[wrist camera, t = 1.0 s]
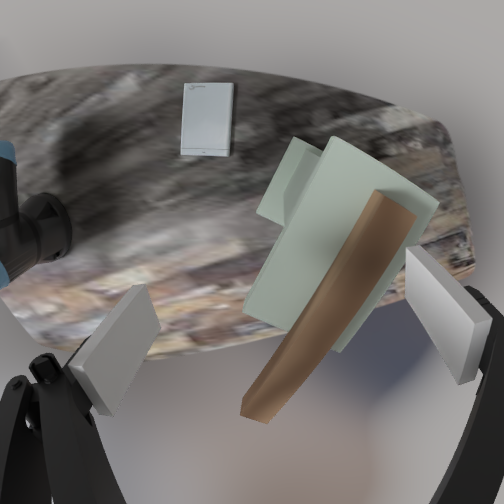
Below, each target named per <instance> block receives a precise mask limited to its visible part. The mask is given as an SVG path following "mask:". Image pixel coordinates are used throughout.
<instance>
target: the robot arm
mask: <svg viewBox="0 0 504 504" xmlns="http://www.w3.org/2000/svg"><path fill="white" fill-rule="evenodd" d="M16 166H17V163H16V159H15V148H14V146H13V144H12V143H11V142H9V141H3V140H0V289H2V288H4V287H7V286H8V285H9V283H11V282H12V281H13V280H15V279H16V278H18V277H19V276H20V275H22V274H23V273H24V272H26V271H27V270H29V269H30V268H31V267H33V266H34V265H36V264H42V263H49V262H53V261H56V260H58V259H59V258H61V257H62V256H63V255H65V253H66V252H67V251H68V249H69V247H70V243H71V236H72V232H71V224H70V220H69V217H68V215H67V213H66V211H65V209H64V207H63V206H62V204H61V203H60V202H59V201H58V200H57V199H56V198H54V197H53V196H51V195H49V194H44V193H42V194H38V195H35V196H32V197H30V198H29V199H27V200H26V201H25V202H24V203H23V204H22V205H21V206H20V208H18V195H17V175H16ZM405 298H406V300H407V301H408V303H409V304H410V306H411V307H412V309H413V310H414V312H415V314H416V315H417V317H418V318H419V320H420V321H421V323H422V325H423V326H424V328H425V329H426V331H427V333H428V334H429V336H430V338H431V339H432V341H433V342H434V344H435V346H436V348H437V349H438V351H439V353H440V354H441V356H442V358H443V359H444V361H445V363H446V365H447V367H448V368H449V370H450V372H451V374H452V375H453V377H454V379H455V381H456V383H457V384H458V385H461V384H464V383H467V382H470V381H473V380H475V377H476V374H477V371H478V368H479V369H480V370H481V372H482V373H483V377H482V380H481V382H480V385H479V388H478V390H477V393H476V395H477V396H476V399H475V402H474V405H473V408H472V411H471V413H470V416H469V419H468V422H467V424H466V427H465V430H464V432H463V435H462V437H461V440H460V442H459V445H458V447H457V449H456V451H455V454H454V456H453V458H452V460H451V462H450V464H449V467H448V469H447V471H446V473H445V475H444V477H443V479H442V481H441V483H440V484H439V486H438V488H437V490H436V492H435V494H434V496H433V498H432V499H431V501H430V503H429V504H493V503H494V501H495V499H496V496H497V493H498V491H499V488H500V485H501V483H502V480H503V476H504V316H503V315H502V314H501V313H500V312H499V311H498V310H497V309H496V308H495V307H494V306H493V305H492V304H491V303H490V302H489V301H488V300H487V298H485V297H484V296H483V294H482V293H480V291H478V290H477V289H474V288H472V287H471V286H465V287H463V286H462V285H461V284H459V282H458V281H457V280H456V279H455V278H454V277H453V276H452V275H451V274H450V273H449V272H448V271H447V270H446V269H445V268H443V267H442V266H441V265H440V264H439V263H438V262H437V261H436V260H435V259H434V258H433V257H432V256H431V255H430V254H429V253H428V252H427V251H426V250H424V249H423V248H422V247H421V246H420V245H417V246H410V247H406V275H405ZM160 329H161V326H160V323H159V320H158V318H157V315H156V312H155V310H154V307H153V304H152V301H151V299H150V296H149V293H148V290H147V287H146V284H140V285H133V286H132V287H131V288H130V289H129V291H128V292H127V293H126V294H125V295H124V296H123V298H122V299H121V300H120V301H119V302H118V303H117V305H116V306H115V307H114V308H113V309H112V311H111V312H110V313H109V314H108V315H107V317H106V318H105V319H104V320H103V321H102V323H101V324H100V325H99V326H98V328H97V329H96V330H95V331H94V332H93V334H92V335H90V336H89V337H88V338H86V339H85V340H84V341H83V343H82V344H81V345H80V346H79V347H80V348H78V349H77V350H76V351H75V353H74V354H73V355H72V357H71V358H70V359H69V360H68V362H67V363H66V364H65V366H64V367H63V368H61V366H60V365H59V363H58V361H57V359H56V358H55V356H54V354H52V353H45V354H42V355H40V356H38V357H36V358H35V359H34V360H33V361H32V362H31V363H30V365H29V369H30V371H31V372H32V374H33V376H34V377H35V379H36V380H37V382H38V383H34V384H31V383H30V382H29V380H28V379H27V377H26V376H24V375H19V376H16V377H14V378H12V379H11V380H10V381H9V382H8V384H7V385H6V388H5V390H4V392H3V395H2V398H1V401H0V504H52V502H51V501H52V497H53V502H54V504H126V502H125V500H124V497H123V495H122V493H121V490H120V488H119V486H118V484H117V481H116V479H115V476H114V474H113V472H112V469H111V466H110V464H109V462H108V459H107V456H106V453H105V451H104V448H103V445H102V442H101V439H100V436H99V433H98V430H97V428H96V424H95V421H94V418H93V416H92V414H91V413H90V411H89V410H90V409H91V407H92V405H93V406H94V407H95V409H96V410H97V412H98V413H99V415H106V416H114V415H115V413H116V411H117V409H118V407H119V405H120V403H121V401H122V400H123V397H124V396H125V394H126V392H127V390H128V388H129V386H130V384H131V382H132V381H133V379H134V377H135V375H136V373H137V371H138V369H139V367H140V366H141V364H142V362H143V360H144V358H145V356H146V355H147V353H148V351H149V349H150V347H151V345H152V344H153V342H154V340H155V338H156V336H157V335H158V333H159V331H160ZM26 420H27V421H28V422H29V423H30V427H29V428H28V427H27V425H26Z"/></svg>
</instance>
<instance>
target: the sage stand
mask: <svg viewBox="0 0 504 504" xmlns="http://www.w3.org/2000/svg"><path fill="white" fill-rule="evenodd" d="M374 189H375V190H377V191H378V192H380V193H382V194H383V195H385V196H386V197H388V198H390V199H391V200H393V201H395V202H396V203H398V204H399V205H401V206H403V207H404V208H406V209H407V210H409V211H410V212H412V213H413V214H415V215H416V216H417V219H416V220H415V222H414V224H413V226H412V227H411V229H410V231H409V232H408V234H407V236H406V238H405V239H404V241H403V243H402V244H401V246H400V248H399V249H398V251H397V253H396V254H395V256H394V257H393V259H392V261H391V262H390V264H389V265H388V267H387V269H386V270H385V272H384V273H383V275H382V276H381V278H380V279H379V281H378V282H377V284H376V285H375V287H374V288H373V290H372V291H371V293H370V294H369V296H368V297H367V299H366V300H365V302H364V303H363V305H362V306H361V308H360V309H359V310H358V312H357V313H356V315H355V316H354V317H353V319H352V320H351V322H350V323H349V324H348V326H347V327H346V328H345V330H344V331H343V333H342V334H341V335H340V337H339V338H338V339H337V341H336V342H335V343H334V345H333V346H332V347H331V349H332V350H334V351H337V352H340V353H341V351H342V350H343V349H344V348H345V346H346V345H347V344H348V342H349V341H350V340H351V339H352V337H353V336H354V335H355V333H356V332H357V331H358V329H359V328H360V327H361V325H362V324H363V323H364V321H365V320H366V319H367V317H368V316H369V314H370V313H371V312H372V310H373V309H374V308H375V306H376V305H377V303H378V302H379V300H380V299H381V298H382V296H383V295H384V293H385V292H386V290H387V289H388V287H389V286H390V284H391V283H392V281H393V280H394V278H395V277H396V275H397V274H398V272H399V271H400V269H401V268H402V266H403V265H404V263H405V261H406V247H410V246H415V245H416V244H417V242H418V240H419V239H420V237H421V235H422V234H423V232H424V230H425V229H426V227H427V225H428V223H429V222H430V220H431V218H432V216H433V214H434V213H435V211H436V209H437V207H438V205H439V204H440V202H439V201H437V200H436V199H435V198H433V197H432V196H430V195H429V194H428V193H426V192H425V191H423V190H422V189H420V188H419V187H418V186H416V185H415V184H413V183H412V182H410V181H409V180H407V179H406V178H404V177H403V176H401V175H400V174H398V173H397V172H395V171H394V170H392V169H390V168H389V167H387V166H386V165H384V164H382V163H381V162H379V161H378V160H376V159H374V158H373V157H371V156H369V155H368V154H366V153H364V152H363V151H361V150H359V149H358V148H356V147H354V146H352V145H351V144H349V143H347V142H345V141H344V140H342V139H340V138H338V137H336V136H331V138H330V140H329V142H328V144H327V146H326V148H325V149H324V151H322V150H320V149H318V148H316V147H314V146H312V145H310V144H308V143H306V142H304V141H302V140H300V139H298V138H296V137H293V139H292V141H291V142H290V144H289V146H288V148H287V150H286V152H285V154H284V156H283V158H282V160H281V162H280V164H279V166H278V168H277V170H276V172H275V174H274V176H273V178H272V180H271V182H270V184H269V186H268V188H267V191H266V193H265V195H264V197H263V199H262V201H261V203H260V205H259V207H258V209H257V211H256V213H257V214H259V215H261V216H263V217H265V218H267V219H269V220H271V221H274V222H276V223H278V224H280V225H282V226H284V228H283V230H282V232H281V234H280V235H279V237H278V239H277V241H276V243H275V245H274V247H273V249H272V250H271V252H270V254H269V256H268V258H267V260H266V262H265V263H264V265H263V267H262V269H261V271H260V273H259V275H258V276H257V278H256V280H255V282H254V284H253V286H252V288H251V289H250V291H249V293H248V295H247V297H246V299H245V301H244V305H243V310H242V312H243V313H245V314H248V315H250V316H252V317H254V318H257V319H259V320H261V321H264V322H266V323H268V324H271V325H273V326H275V327H278V328H280V329H283V330H285V331H287V332H289V331H290V329H291V328H292V326H293V325H294V323H295V322H296V320H297V319H298V317H299V316H300V314H301V313H302V311H303V309H304V308H305V306H306V305H307V303H308V302H309V300H310V298H311V297H312V295H313V294H314V292H315V291H316V289H317V287H318V286H319V284H320V283H321V281H322V279H323V278H324V276H325V274H326V273H327V271H328V269H329V268H330V266H331V265H332V263H333V261H334V260H335V258H336V256H337V255H338V253H339V251H340V249H341V248H342V246H343V244H344V243H345V241H346V239H347V237H348V236H349V234H350V232H351V231H352V229H353V227H354V225H355V224H356V222H357V220H358V218H359V216H360V215H361V213H362V211H363V209H364V207H365V206H366V204H367V202H368V200H369V198H370V197H371V195H372V193H373V191H374Z"/></svg>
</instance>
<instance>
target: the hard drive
mask: <svg viewBox="0 0 504 504" xmlns="http://www.w3.org/2000/svg"><path fill="white" fill-rule="evenodd" d="M233 91H234V83H185V84H184V97H183V112H182V132H181V155H202V156H226V157H229V153H230V137H231V121H232V106H233Z"/></svg>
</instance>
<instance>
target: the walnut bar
mask: <svg viewBox="0 0 504 504" xmlns="http://www.w3.org/2000/svg"><path fill="white" fill-rule="evenodd" d="M416 219H417V216H416V215H415V214H413V213H412V212H410V211H409V210H407V209H406V208H404V207H403V206H401V205H399V204H398V203H396V202H395V201H393V200H391V199H390V198H388V197H386V196H385V195H383V194H382V193H380V192H378V191H377V190H375V189H374V191H373V193H372V195H371V197H370V198H369V200H368V202H367V204H366V206H365V207H364V209H363V211H362V213H361V215H360V216H359V218H358V220H357V222H356V224H355V225H354V227H353V229H352V231H351V232H350V234H349V236H348V237H347V239H346V241H345V243H344V244H343V246H342V248H341V249H340V251H339V253H338V255H337V256H336V258H335V260H334V261H333V263H332V265H331V266H330V268H329V269H328V271H327V273H326V274H325V276H324V278H323V279H322V281H321V283H320V284H319V286H318V287H317V289H316V291H315V292H314V294H313V295H312V297H311V298H310V300H309V302H308V303H307V305H306V306H305V308H304V309H303V311H302V313H301V314H300V316H299V317H298V319H297V320H296V322H295V323H294V325H293V326H292V328H291V329H290V331H289V332H288V334H287V335H286V337H285V338H284V340H283V342H282V343H281V344H280V346H279V347H278V349H277V350H276V352H275V353H274V354H273V356H272V357H271V359H270V360H269V362H268V363H267V365H266V366H265V367H264V369H263V370H262V372H261V373H260V375H259V376H258V378H257V379H256V380H255V382H254V383H253V384H252V386H251V387H250V388H249V390H248V391H247V393H246V394H245V395H244V397H243V399H242V405H241V412H240V415H241V416H244V417H246V418H250V419H253V420H256V421H259V422H262V423H265V424H267V423H268V422H269V421H270V420H271V419H272V418H273V417H274V416H275V415H276V413H277V412H278V411H279V410H280V409H281V408H282V407H283V406H284V405H285V403H286V402H287V401H288V400H289V399H290V398H291V396H292V395H293V394H294V393H295V392H296V391H297V389H298V388H299V387H300V386H301V385H302V383H303V382H304V381H305V380H306V379H307V377H308V376H309V375H310V374H311V373H312V371H313V370H314V369H315V368H316V366H317V365H318V364H319V363H320V361H321V360H322V359H323V358H324V356H325V355H326V353H327V352H328V351H329V350H330V349H331V347H332V346H333V345H334V343H335V342H336V341H337V339H338V338H339V337H340V335H341V334H342V333H343V331H344V330H345V328H346V327H347V326H348V324H349V323H350V322H351V320H352V319H353V317H354V316H355V315H356V313H357V312H358V310H359V309H360V308H361V306H362V305H363V303H364V302H365V300H366V299H367V297H368V296H369V294H370V293H371V291H372V290H373V288H374V287H375V285H376V284H377V282H378V281H379V279H380V278H381V276H382V275H383V273H384V272H385V270H386V269H387V267H388V265H389V264H390V262H391V261H392V259H393V257H394V256H395V254H396V253H397V251H398V249H399V248H400V246H401V244H402V243H403V241H404V239H405V238H406V236H407V234H408V232H409V231H410V229H411V227H412V226H413V224H414V222H415V220H416Z"/></svg>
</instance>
